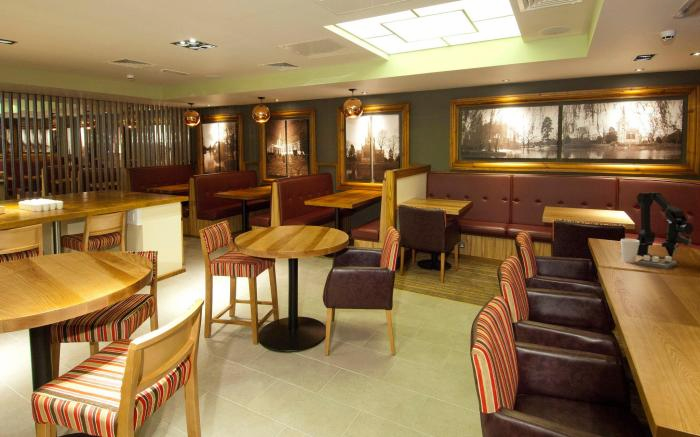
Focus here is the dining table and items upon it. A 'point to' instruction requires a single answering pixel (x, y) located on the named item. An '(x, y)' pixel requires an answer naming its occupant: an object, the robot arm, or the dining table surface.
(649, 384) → the dining table surface
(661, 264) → the breaker panel
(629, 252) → the foam cup
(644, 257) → the breaker
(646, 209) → the robot arm
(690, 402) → the dining table surface
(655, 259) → the breaker middle
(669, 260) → the breaker
